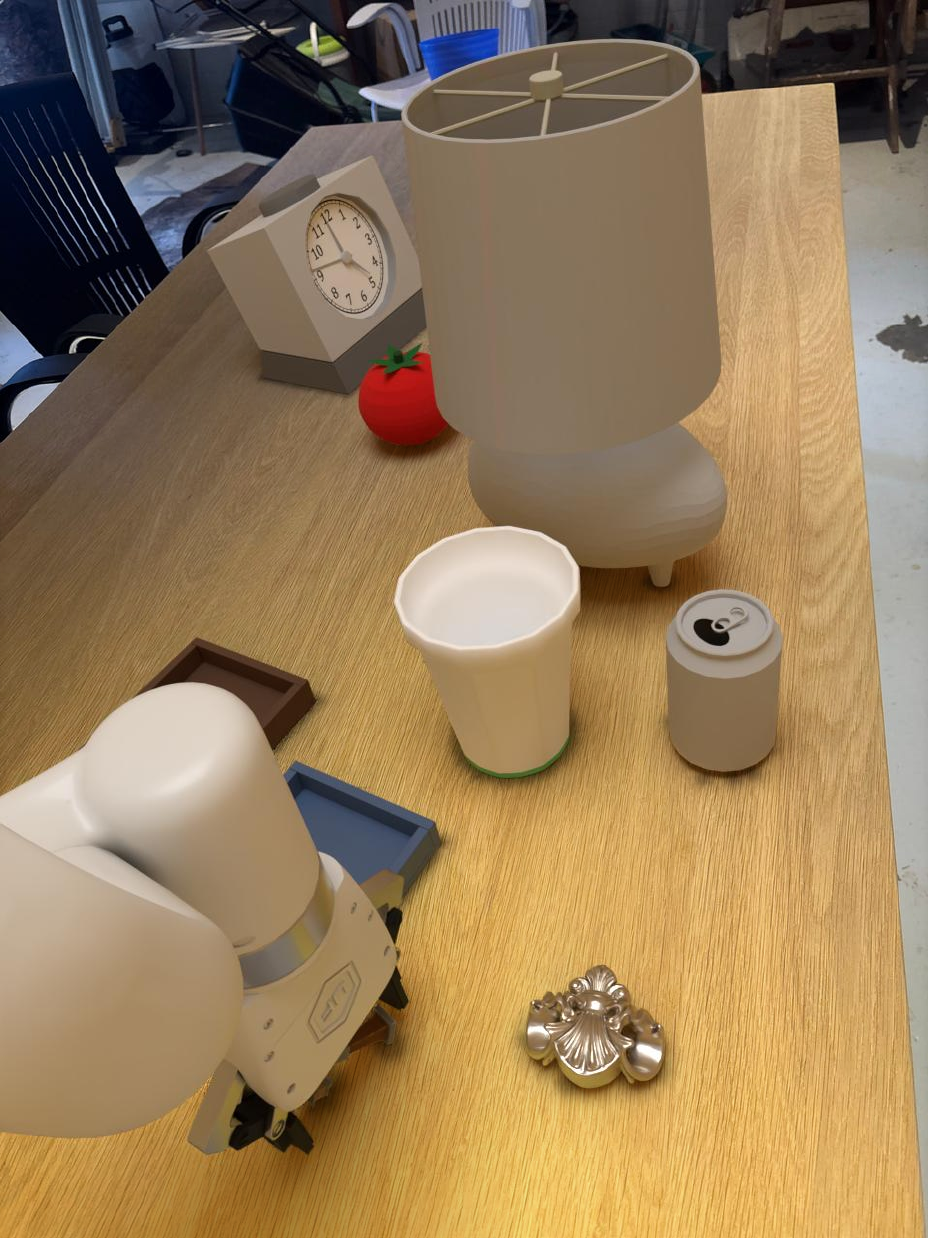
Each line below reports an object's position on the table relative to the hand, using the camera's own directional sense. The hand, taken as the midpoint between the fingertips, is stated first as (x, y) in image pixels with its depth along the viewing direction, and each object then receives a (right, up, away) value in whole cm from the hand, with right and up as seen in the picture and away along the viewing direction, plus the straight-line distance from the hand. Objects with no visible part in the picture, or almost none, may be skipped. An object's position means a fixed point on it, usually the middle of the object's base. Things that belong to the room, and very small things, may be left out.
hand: (340, 1063), depth 60 cm
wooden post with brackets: (0, -1, +1) cm, 2 cm away
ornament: (+15, +1, 0) cm, 15 cm away
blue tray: (-3, +7, +11) cm, 13 cm away
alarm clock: (-8, +61, +70) cm, 93 cm away
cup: (+11, +17, +18) cm, 27 cm away
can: (+26, +17, +15) cm, 34 cm away
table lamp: (+19, +30, +31) cm, 47 cm away
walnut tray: (-14, +16, +23) cm, 31 cm away
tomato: (+2, +45, +51) cm, 68 cm away
